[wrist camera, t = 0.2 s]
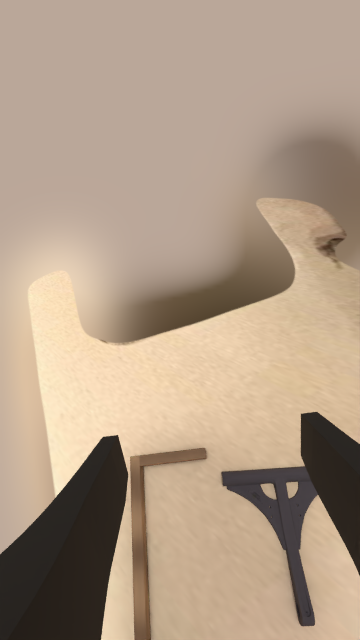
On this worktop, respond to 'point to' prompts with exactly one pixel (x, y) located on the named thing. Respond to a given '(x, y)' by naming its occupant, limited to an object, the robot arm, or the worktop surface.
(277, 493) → the bracket
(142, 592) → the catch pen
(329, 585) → the worktop surface
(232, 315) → the worktop surface
